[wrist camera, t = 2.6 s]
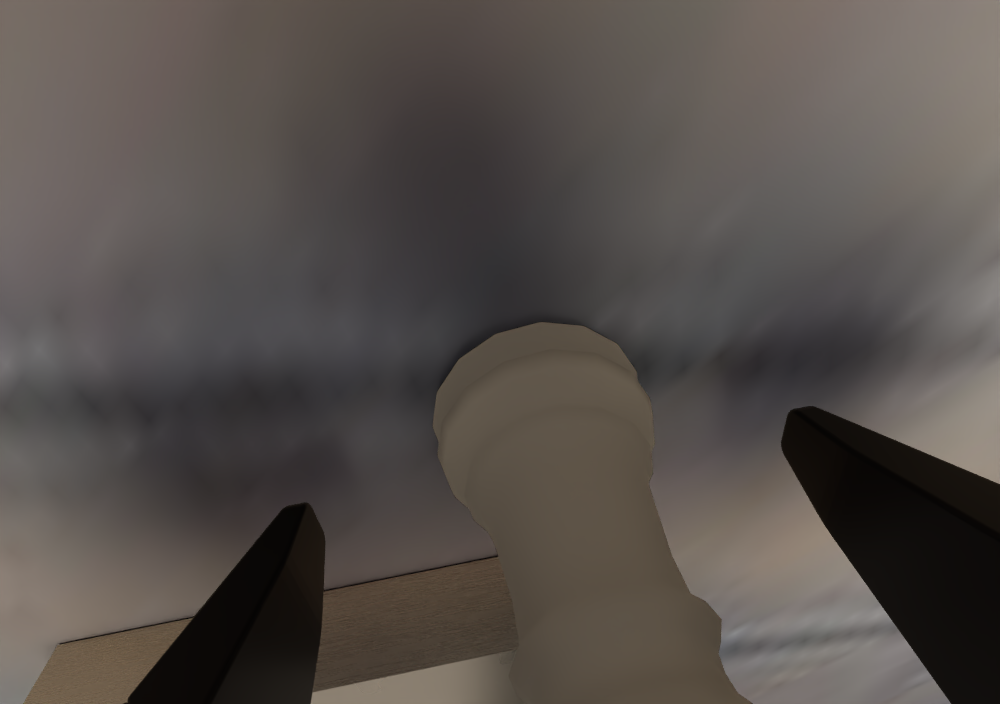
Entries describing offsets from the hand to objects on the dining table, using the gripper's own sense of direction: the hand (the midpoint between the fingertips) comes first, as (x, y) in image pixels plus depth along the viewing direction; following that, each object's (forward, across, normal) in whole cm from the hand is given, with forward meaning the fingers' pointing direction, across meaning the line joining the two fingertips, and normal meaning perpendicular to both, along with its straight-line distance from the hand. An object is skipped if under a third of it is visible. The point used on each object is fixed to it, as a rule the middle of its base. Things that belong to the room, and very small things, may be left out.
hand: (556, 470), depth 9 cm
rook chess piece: (+2, 0, 0) cm, 2 cm away
